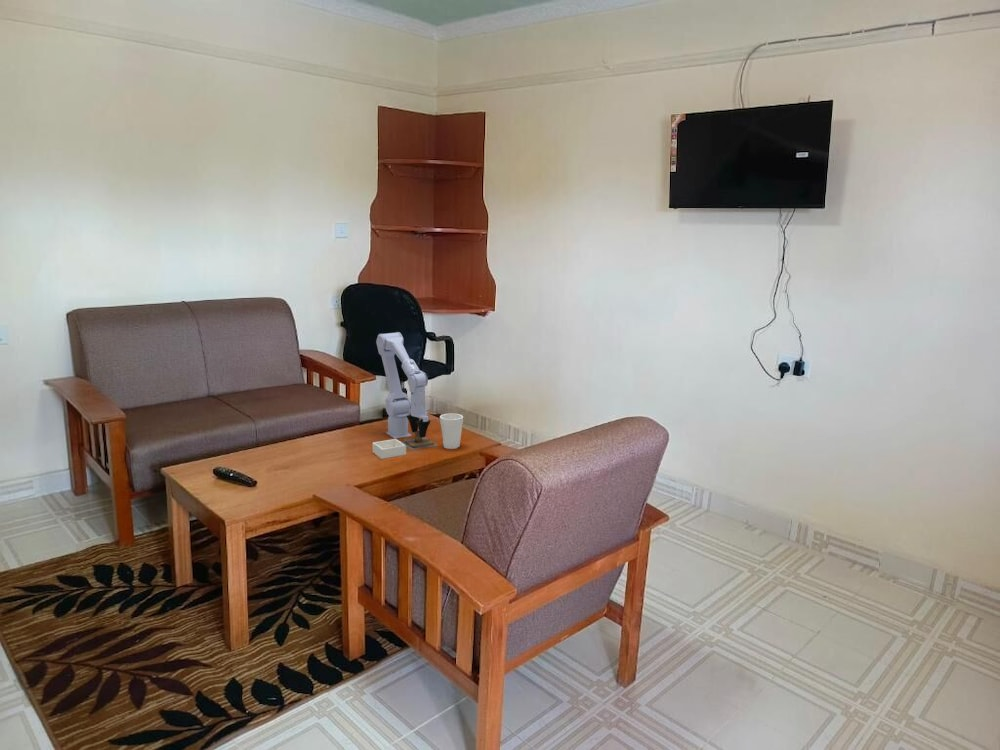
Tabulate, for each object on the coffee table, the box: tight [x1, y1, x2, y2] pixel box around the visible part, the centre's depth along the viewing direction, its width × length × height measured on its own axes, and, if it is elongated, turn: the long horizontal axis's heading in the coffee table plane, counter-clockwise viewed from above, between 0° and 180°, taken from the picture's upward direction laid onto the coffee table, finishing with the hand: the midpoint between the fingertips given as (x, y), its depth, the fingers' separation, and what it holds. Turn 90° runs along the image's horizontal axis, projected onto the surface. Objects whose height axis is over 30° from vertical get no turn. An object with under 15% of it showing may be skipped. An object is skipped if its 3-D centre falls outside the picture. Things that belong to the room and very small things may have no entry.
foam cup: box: [439, 413, 464, 450], centre depth 285 cm, size 10×9×13 cm
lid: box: [403, 430, 435, 448], centre depth 289 cm, size 10×10×5 cm
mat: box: [399, 440, 438, 451], centre depth 290 cm, size 12×12×1 cm
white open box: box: [372, 438, 407, 460], centre depth 277 cm, size 10×10×4 cm
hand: (418, 434), depth 289 cm, fingers open, 7 cm apart
